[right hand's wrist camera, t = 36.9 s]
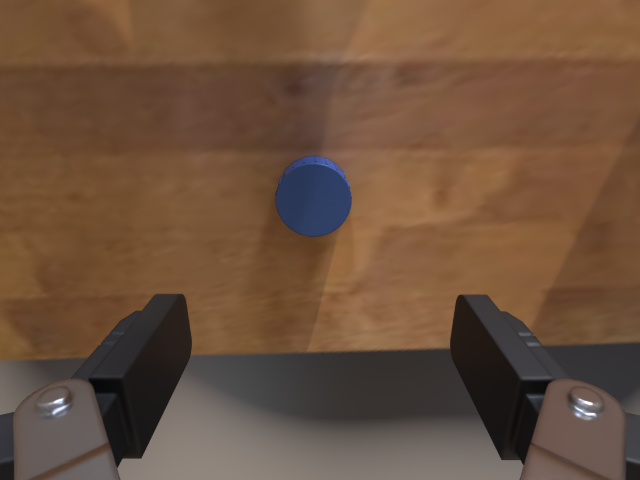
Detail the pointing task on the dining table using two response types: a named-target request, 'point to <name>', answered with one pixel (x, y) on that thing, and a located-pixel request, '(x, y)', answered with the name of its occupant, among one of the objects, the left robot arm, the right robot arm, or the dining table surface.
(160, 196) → the dining table surface
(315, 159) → the cap
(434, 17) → the dining table surface
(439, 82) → the dining table surface
